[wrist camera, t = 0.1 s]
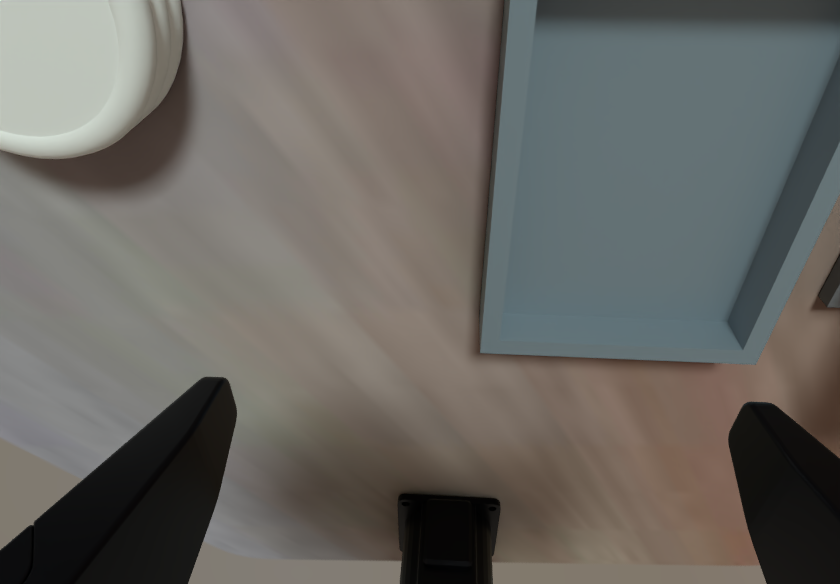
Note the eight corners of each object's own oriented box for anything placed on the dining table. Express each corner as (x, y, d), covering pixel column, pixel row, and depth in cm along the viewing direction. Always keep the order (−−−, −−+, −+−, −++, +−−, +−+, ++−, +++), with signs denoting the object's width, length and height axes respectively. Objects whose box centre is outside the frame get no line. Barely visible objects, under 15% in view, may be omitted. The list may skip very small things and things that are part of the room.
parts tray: (734, 327, 28) (755, 364, 26) (479, 316, 28) (480, 353, 26) (908, -72, 18) (963, -60, 16) (510, -74, 18) (515, -63, 16)
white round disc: (195, 149, 24) (160, 189, 21) (-57, 98, 23) (-128, 133, 20) (180, -152, 18) (128, -151, 15) (-163, -233, 17) (-284, -247, 14)
